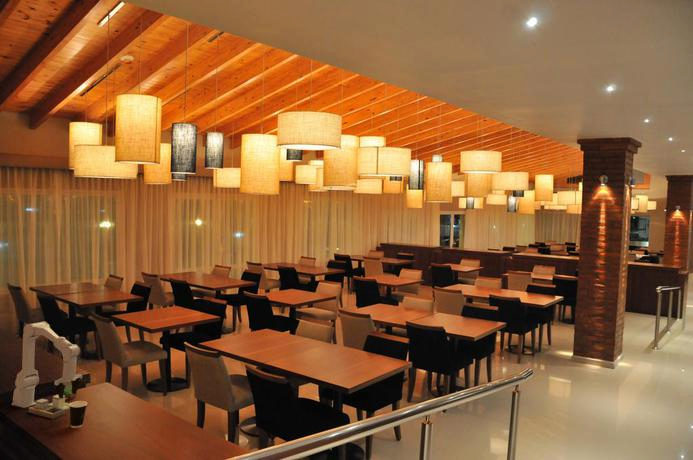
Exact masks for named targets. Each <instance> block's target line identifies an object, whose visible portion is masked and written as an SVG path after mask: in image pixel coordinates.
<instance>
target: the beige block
mask: <svg viewBox="0 0 693 460" xmlns="http://www.w3.org/2000/svg"><path fill="white" fill-rule="evenodd" d="M34 402H35V403H36V404H34V406H35V409H39V410H42V409H45V408H48V404H49V399H45V398H41V399H38V400H35V401H34Z"/></svg>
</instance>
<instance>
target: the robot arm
mask: <svg viewBox="0 0 693 460" xmlns="http://www.w3.org/2000/svg"><path fill="white" fill-rule="evenodd" d="M39 336H43V337H45V338H47V339H48V340H49V341H50V342H52V343H53V346H54V348H56V349H57V350H59V351H60V352H61V355H62V361H63V367H62V368H63V369H62V377H60V378H59V379H57V380H56V379H55V380H54V387H55V389H56V392H57V395H58V396H59V398H63V394H64V389H65V386H66V385H64V384H63V383H66V382H69V381H71V382H72V393H73V394H76V395H77V393H76V392H78V388H79V387H80V385H81V383H83V374H81V373H78V374H77V373H76V371H77V363H78V362H77V361H78V356H79V354H80V353H81V348H80V346H79V344H73V343H71V342H70V341H69V340H68V339H66V337H64V336H59V335H58V334H57V333H56V332H54V330H53V329H52V328H51V325H50V324H49V323H48V322H47V321H40V322H34V323H28V324H26V325H25V326H23V336H22V357H21V358H22V359H21V361H22V362H21V363H22V364H21V368H22V369H21V370H20V371H19V372H18V373H17V374H16V379H15V381H14V384H15V389H14V390H13V396H12V403H10V404H11V405H12V406H16V407H20V408H23V409H24V408H29V407H30V406H31V407H32V406H35V404H36V403H35V402H36V401H35V389H36V387H37V386H38V384H39V382H40V377H39V371H38V370H36V369H35V355H36V353H35V352H36V339H38V338H39Z"/></svg>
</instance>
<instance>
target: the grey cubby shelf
mask: <svg viewBox="0 0 693 460" xmlns="http://www.w3.org/2000/svg"><path fill="white" fill-rule="evenodd" d="M28 413H30V414H33V415H37V416H41V417H44V418H48V419H51V420H52V419H55V418H59V417H61V416H64V415H66V414H67V410H66V409H62V408H59V407H55V406H51V405H48V408H45V409H42V410H39V409H35V405H32V406H31V407H30V406H28Z"/></svg>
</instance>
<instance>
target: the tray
mask: <svg viewBox="0 0 693 460" xmlns="http://www.w3.org/2000/svg"><path fill="white" fill-rule="evenodd" d="M52 403H53V402H51V403H48V405H51V406H52ZM69 404H70V403H68V402H65V406H64V407H63V408H62V409H66V411H67V410H70V406H69Z"/></svg>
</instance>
